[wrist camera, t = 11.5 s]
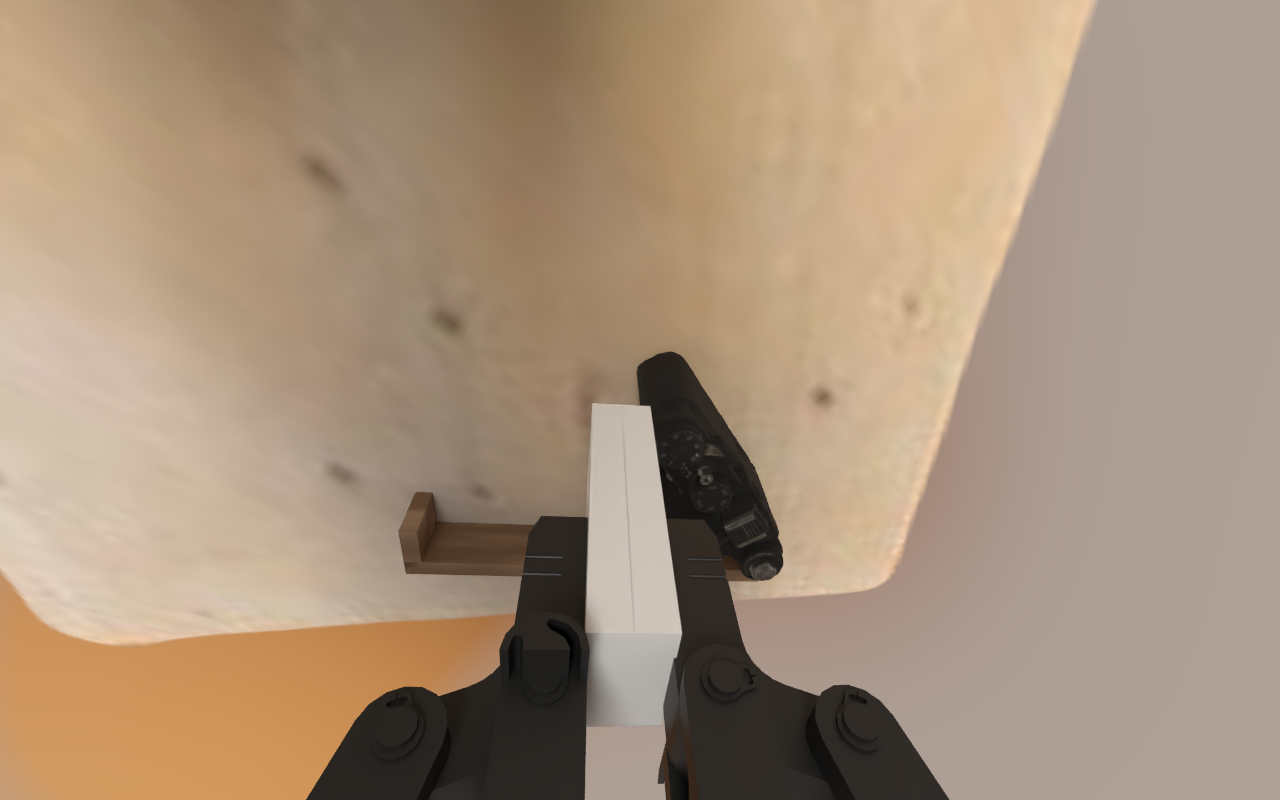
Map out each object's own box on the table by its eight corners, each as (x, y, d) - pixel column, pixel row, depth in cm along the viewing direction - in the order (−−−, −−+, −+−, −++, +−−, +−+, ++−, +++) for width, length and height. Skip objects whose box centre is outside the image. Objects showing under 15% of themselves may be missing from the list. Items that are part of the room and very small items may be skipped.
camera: (549, 407, 37) (533, 508, 29) (686, 334, 35) (713, 420, 26) (647, 530, 44) (658, 642, 35) (768, 476, 41) (810, 581, 33)
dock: (415, 492, 40) (398, 531, 37) (757, 505, 43) (770, 542, 39) (421, 532, 42) (405, 573, 39) (746, 542, 45) (758, 581, 42)
